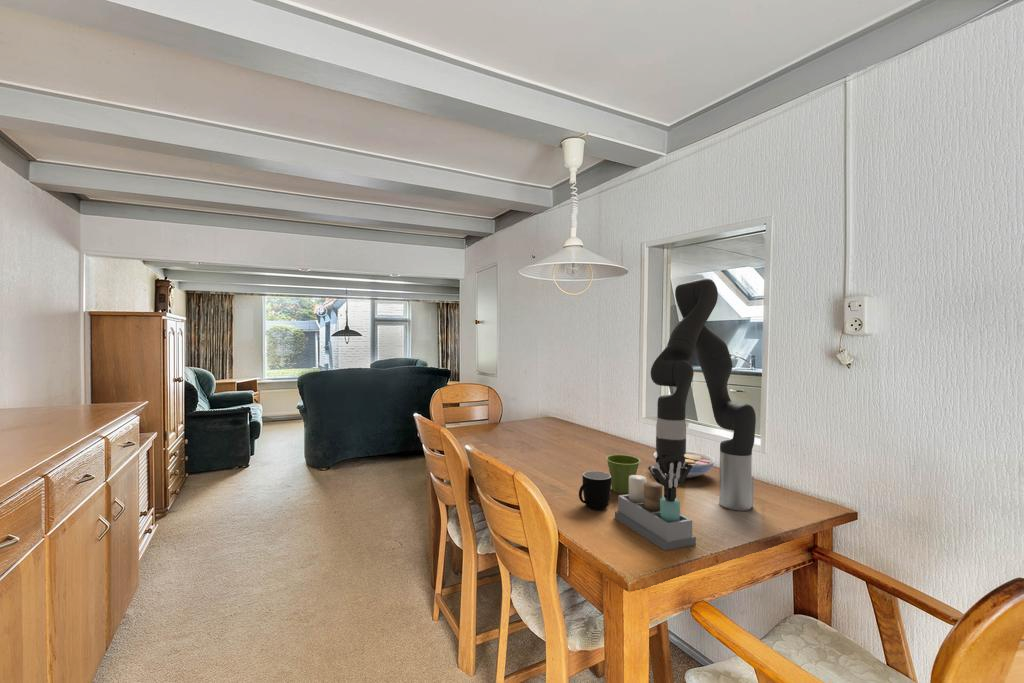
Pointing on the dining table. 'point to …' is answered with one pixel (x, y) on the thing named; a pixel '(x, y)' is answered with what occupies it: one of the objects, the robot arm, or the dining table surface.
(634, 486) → the white rounded piece
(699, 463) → the ramen bowl
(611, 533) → the dining table surface
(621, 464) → the plant pot
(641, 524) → the grey compartment tray
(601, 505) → the mug
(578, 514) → the dining table surface
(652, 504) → the brown rounded cylinder
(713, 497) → the dining table surface
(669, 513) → the teal rounded cylinder
